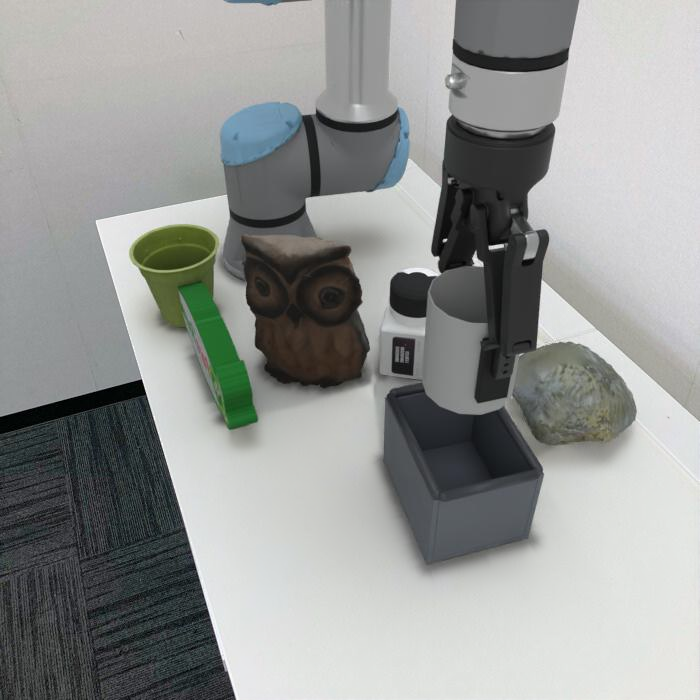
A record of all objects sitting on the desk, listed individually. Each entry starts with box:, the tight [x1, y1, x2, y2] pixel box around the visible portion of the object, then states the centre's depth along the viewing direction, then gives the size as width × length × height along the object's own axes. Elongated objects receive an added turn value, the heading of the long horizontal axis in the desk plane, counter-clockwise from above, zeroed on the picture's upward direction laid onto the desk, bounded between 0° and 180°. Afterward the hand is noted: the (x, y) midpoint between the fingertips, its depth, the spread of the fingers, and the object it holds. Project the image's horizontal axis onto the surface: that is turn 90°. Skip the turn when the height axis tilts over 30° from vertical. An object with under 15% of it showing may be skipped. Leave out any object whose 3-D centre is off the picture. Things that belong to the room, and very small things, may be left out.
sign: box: [178, 281, 259, 431], centre depth 88 cm, size 26×3×10 cm, turn 23°
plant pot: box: [128, 223, 220, 328], centre depth 98 cm, size 12×12×11 cm
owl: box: [241, 233, 371, 390], centre depth 86 cm, size 13×13×20 cm
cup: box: [421, 265, 521, 415], centre depth 62 cm, size 8×8×10 cm
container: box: [378, 267, 440, 381], centre depth 89 cm, size 8×8×13 cm
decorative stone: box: [512, 340, 638, 447], centre depth 82 cm, size 14×15×10 cm
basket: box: [382, 382, 545, 565], centre depth 72 cm, size 15×11×11 cm
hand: (469, 363), depth 63 cm, fingers closed on cup, 8 cm apart
